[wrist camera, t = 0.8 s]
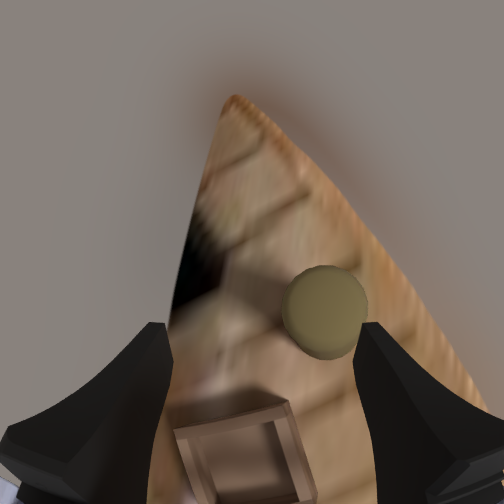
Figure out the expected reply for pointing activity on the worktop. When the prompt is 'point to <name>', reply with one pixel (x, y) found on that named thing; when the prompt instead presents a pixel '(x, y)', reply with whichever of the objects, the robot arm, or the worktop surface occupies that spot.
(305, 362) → the worktop surface
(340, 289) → the cork
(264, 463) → the holder
